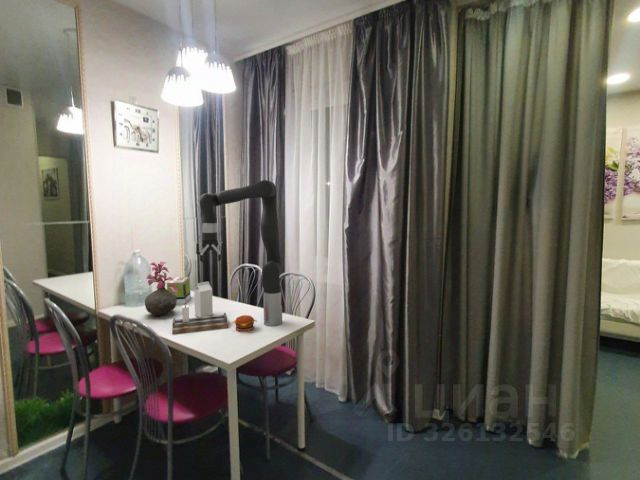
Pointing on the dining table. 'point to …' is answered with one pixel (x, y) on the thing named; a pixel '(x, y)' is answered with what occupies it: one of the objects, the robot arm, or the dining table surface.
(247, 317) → the hamburger
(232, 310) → the dining table surface
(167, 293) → the vase
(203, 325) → the fader console
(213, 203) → the robot arm
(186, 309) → the fader tab
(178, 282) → the tea box
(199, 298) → the milk carton
